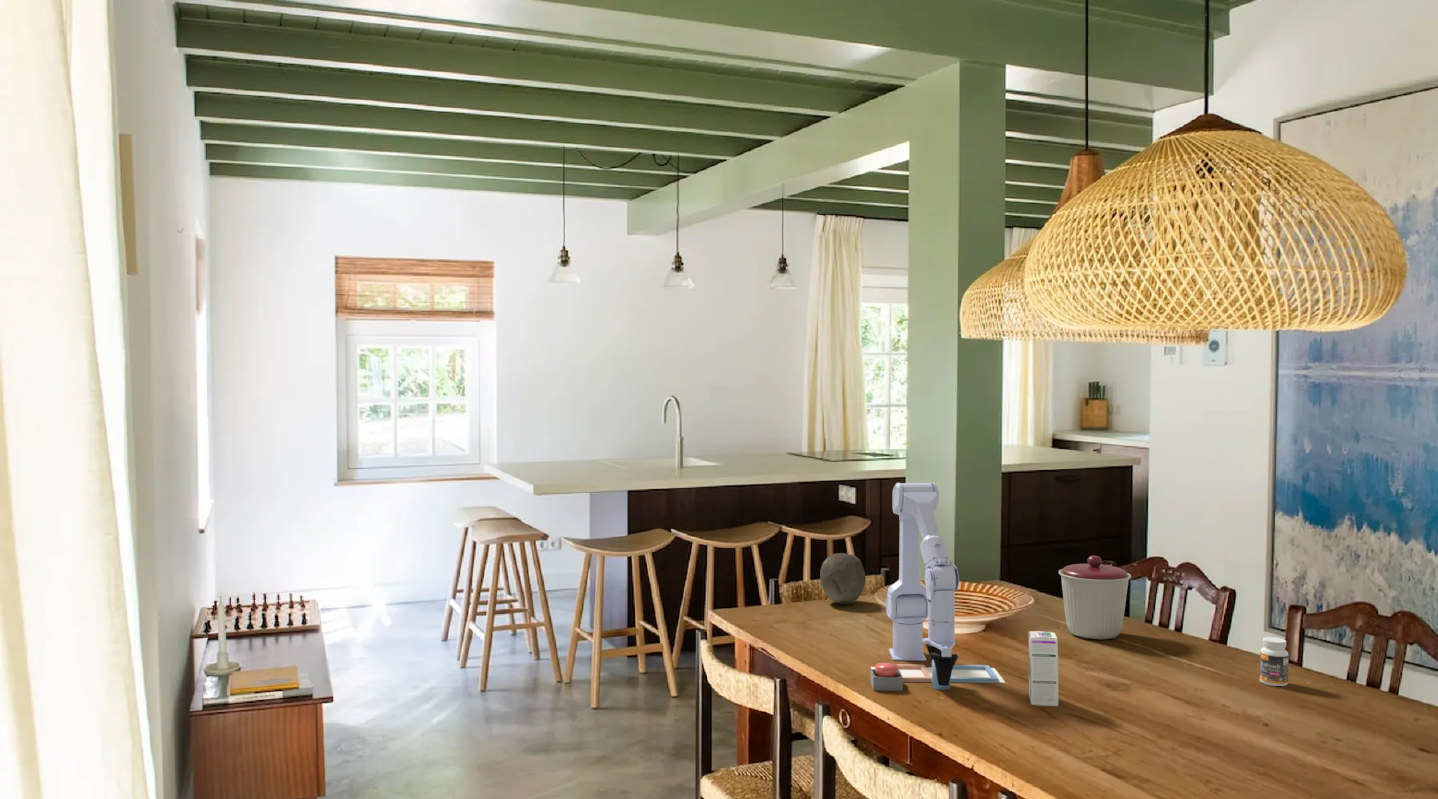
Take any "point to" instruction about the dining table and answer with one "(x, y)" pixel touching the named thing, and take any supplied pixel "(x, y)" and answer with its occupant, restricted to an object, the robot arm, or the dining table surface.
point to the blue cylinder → (935, 681)
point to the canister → (1094, 598)
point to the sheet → (954, 673)
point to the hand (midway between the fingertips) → (941, 680)
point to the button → (886, 670)
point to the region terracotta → (915, 679)
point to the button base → (886, 682)
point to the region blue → (974, 679)
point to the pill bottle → (1274, 662)
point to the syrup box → (1043, 668)
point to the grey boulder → (842, 578)
